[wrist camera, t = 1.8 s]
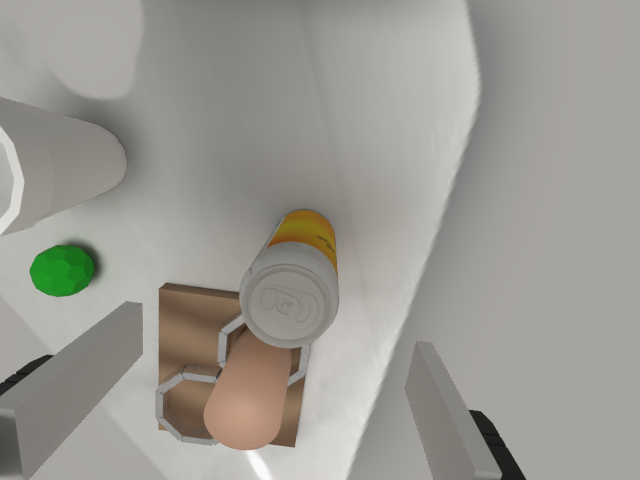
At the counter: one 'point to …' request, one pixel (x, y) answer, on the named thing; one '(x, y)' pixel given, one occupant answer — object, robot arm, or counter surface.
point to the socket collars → (210, 375)
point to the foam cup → (51, 163)
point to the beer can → (292, 282)
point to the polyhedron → (62, 270)
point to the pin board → (207, 352)
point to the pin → (249, 394)
